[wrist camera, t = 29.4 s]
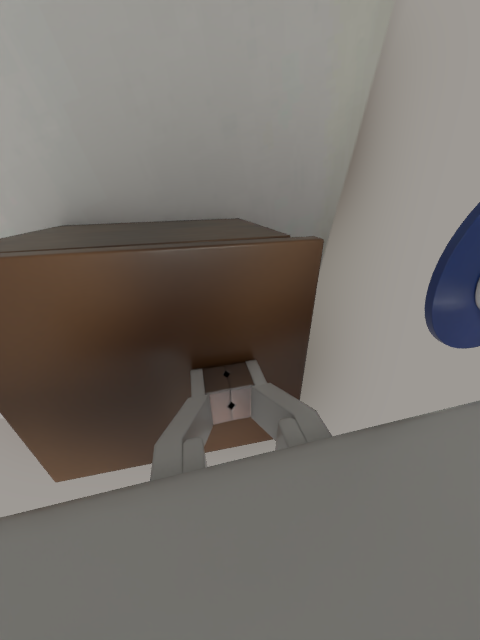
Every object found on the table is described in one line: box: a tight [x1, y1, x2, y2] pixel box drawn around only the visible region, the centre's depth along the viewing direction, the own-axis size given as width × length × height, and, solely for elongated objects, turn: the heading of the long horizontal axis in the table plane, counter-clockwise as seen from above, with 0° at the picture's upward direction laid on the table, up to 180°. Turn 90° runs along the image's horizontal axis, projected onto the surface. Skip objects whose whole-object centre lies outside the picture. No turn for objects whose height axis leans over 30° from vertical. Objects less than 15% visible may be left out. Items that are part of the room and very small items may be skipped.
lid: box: [0, 236, 324, 482], centre depth 10 cm, size 13×12×1 cm
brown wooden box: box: [0, 218, 290, 253], centre depth 15 cm, size 13×12×10 cm
